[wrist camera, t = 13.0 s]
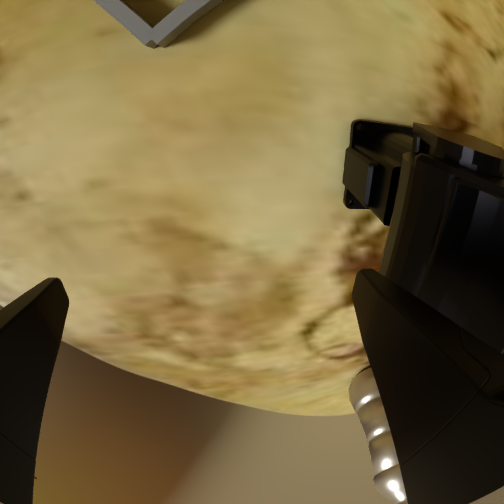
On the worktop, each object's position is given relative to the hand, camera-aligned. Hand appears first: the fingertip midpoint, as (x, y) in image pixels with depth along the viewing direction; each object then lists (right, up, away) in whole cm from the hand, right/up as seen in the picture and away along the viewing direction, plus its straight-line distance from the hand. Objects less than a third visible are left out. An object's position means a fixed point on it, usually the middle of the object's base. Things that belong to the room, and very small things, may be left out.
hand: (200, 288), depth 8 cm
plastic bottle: (+16, -14, +26) cm, 34 cm away
